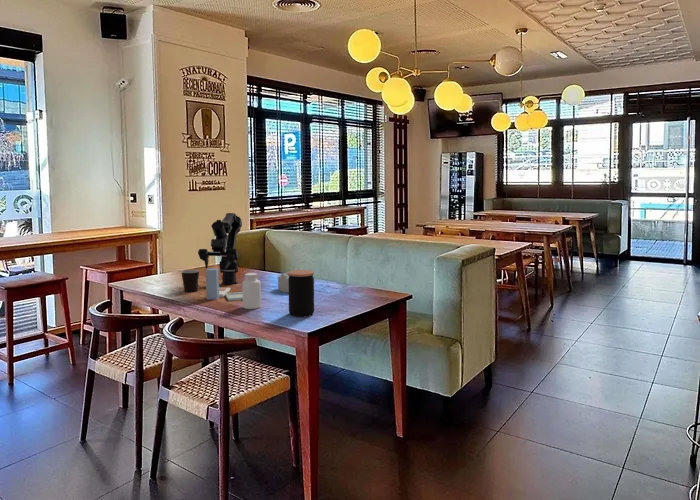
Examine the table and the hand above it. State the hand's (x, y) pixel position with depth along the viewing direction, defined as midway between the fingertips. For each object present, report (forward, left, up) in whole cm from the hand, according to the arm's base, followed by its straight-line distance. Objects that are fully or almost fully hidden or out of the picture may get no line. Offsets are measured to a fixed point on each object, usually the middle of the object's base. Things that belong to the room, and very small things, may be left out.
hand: (215, 268), depth 268 cm
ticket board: (-3, -3, -13) cm, 14 cm away
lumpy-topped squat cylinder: (-31, +18, -13) cm, 39 cm away
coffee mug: (+2, -18, -13) cm, 23 cm away
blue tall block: (+5, +4, -13) cm, 15 cm away
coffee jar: (-1, +57, -13) cm, 59 cm away
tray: (-4, +12, -13) cm, 18 cm away
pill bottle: (+5, +32, -13) cm, 35 cm away
